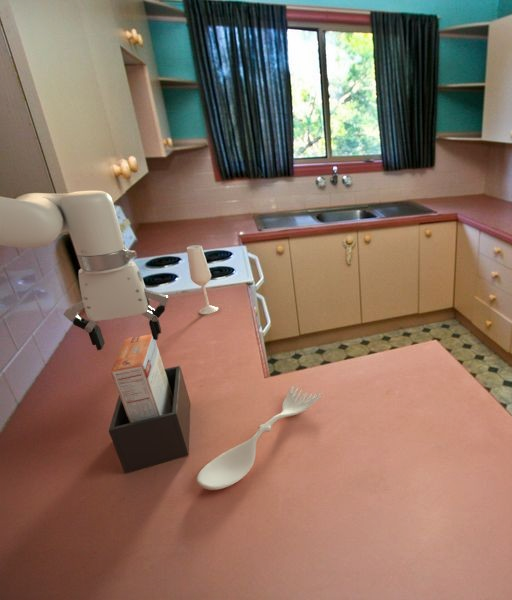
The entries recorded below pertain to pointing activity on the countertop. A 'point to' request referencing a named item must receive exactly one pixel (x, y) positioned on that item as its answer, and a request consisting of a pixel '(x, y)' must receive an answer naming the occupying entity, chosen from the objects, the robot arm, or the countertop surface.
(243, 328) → the countertop surface
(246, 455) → the spoon
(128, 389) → the cracker box
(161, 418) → the open box
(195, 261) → the champagne flute
